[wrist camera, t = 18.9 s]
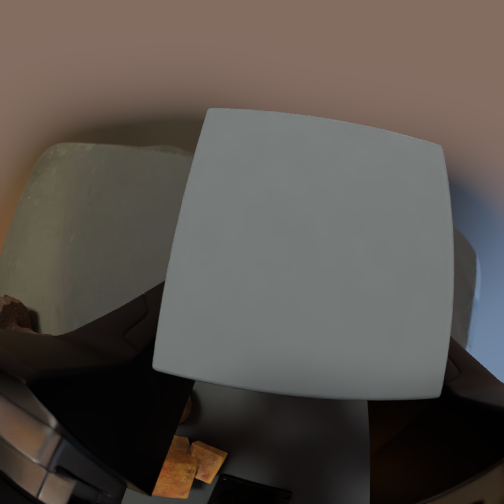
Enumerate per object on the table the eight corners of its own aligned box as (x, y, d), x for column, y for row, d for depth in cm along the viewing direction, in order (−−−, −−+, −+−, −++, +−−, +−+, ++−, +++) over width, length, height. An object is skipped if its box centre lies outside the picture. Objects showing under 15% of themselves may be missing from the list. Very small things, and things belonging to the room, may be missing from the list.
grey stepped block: (319, 344, 15) (441, 398, 3) (238, 334, 15) (149, 370, 4) (333, 205, 17) (410, 39, 5) (259, 195, 17) (242, 12, 5)
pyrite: (213, 474, 20) (224, 503, 16) (139, 463, 18) (139, 493, 14) (226, 433, 21) (240, 460, 17) (146, 420, 19) (146, 448, 15)
